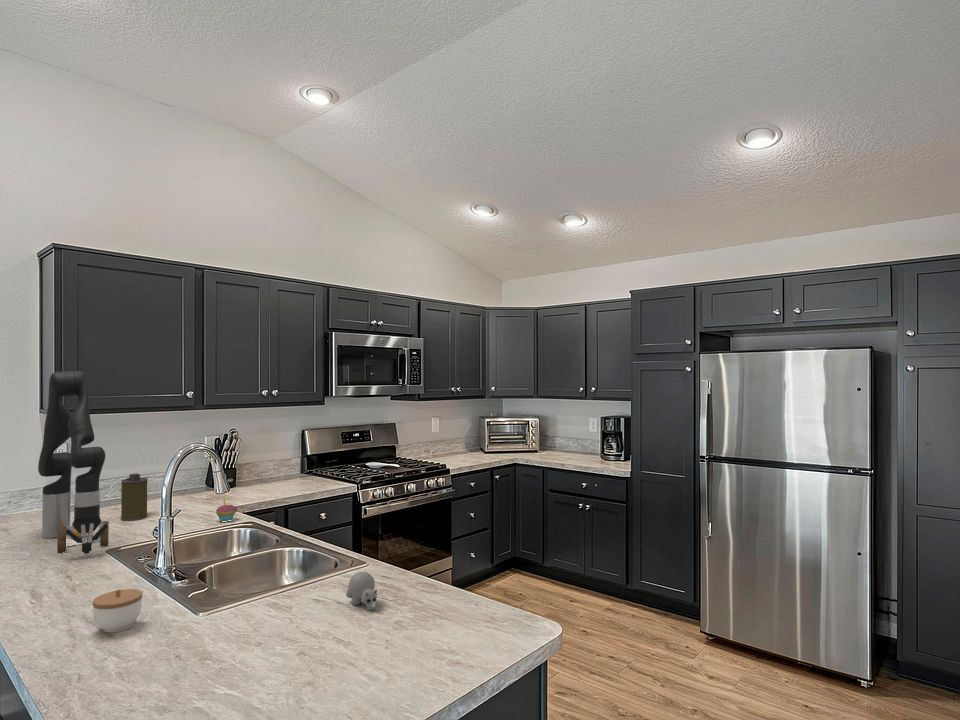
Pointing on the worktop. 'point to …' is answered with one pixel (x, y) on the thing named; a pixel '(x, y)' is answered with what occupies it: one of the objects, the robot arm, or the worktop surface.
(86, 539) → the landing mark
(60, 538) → the post
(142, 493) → the canister
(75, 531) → the ball
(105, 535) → the post
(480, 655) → the worktop surface
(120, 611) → the lidded jar
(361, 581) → the chubby cartoon animal
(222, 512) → the cupcake
